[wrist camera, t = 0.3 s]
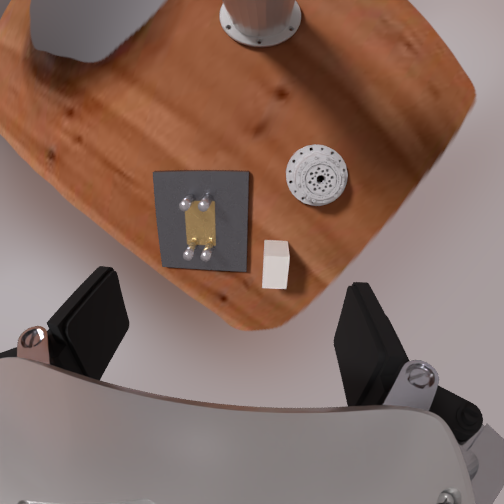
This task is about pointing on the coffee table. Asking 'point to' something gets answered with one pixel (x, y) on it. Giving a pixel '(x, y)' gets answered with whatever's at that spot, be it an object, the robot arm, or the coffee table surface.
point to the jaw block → (275, 264)
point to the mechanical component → (316, 175)
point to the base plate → (202, 218)
